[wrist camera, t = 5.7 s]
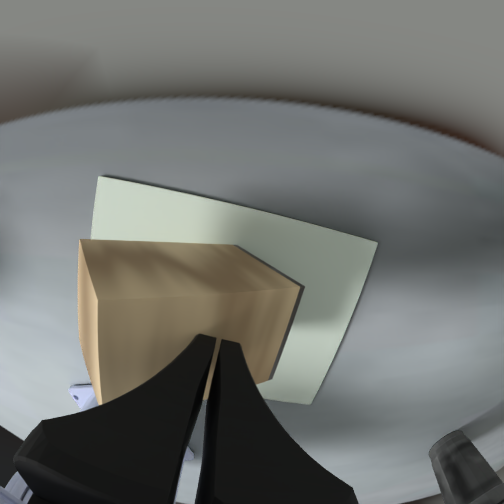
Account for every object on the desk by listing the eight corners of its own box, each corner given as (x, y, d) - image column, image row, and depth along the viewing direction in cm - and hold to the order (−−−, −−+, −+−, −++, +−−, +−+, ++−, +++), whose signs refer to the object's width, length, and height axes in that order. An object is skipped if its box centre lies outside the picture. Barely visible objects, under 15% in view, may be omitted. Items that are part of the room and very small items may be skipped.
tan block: (305, 286, 12) (97, 300, 7) (272, 379, 13) (104, 419, 8) (237, 244, 16) (79, 239, 11) (217, 326, 17) (79, 339, 12)
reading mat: (376, 241, 16) (378, 243, 16) (309, 402, 19) (310, 404, 19) (101, 175, 15) (98, 176, 15) (91, 349, 18) (89, 351, 18)
